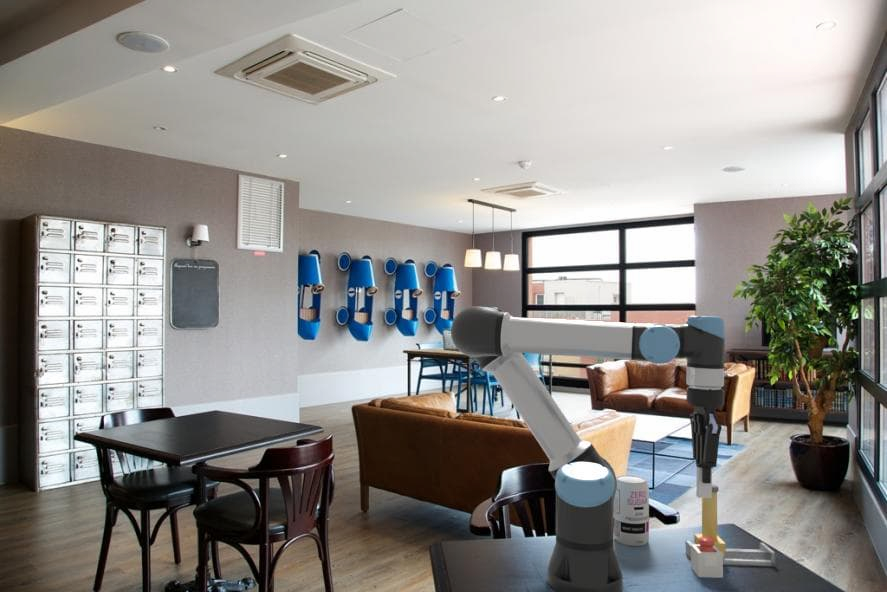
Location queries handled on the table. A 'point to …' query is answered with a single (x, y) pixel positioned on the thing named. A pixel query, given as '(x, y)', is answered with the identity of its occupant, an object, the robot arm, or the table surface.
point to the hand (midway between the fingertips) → (704, 496)
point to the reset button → (706, 544)
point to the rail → (745, 556)
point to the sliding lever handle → (711, 521)
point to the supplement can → (631, 511)
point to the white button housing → (707, 562)
